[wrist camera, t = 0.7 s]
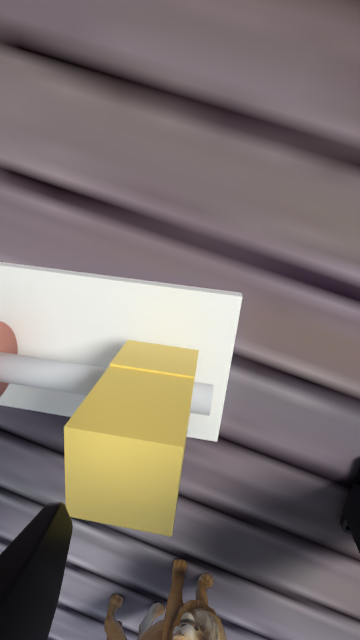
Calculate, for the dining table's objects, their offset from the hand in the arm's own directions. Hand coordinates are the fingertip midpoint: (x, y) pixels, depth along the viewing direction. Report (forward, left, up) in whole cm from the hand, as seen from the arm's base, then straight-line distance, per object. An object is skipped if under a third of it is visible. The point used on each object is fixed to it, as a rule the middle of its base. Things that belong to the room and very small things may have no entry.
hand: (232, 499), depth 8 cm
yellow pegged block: (+4, +2, -9) cm, 10 cm away
